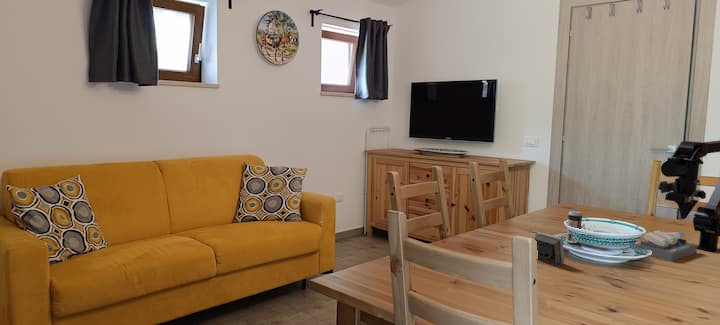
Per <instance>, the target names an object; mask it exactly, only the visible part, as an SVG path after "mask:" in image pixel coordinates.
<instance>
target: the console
mask: <svg viewBox="0 0 720 325" xmlns="http://www.w3.org/2000/svg"><path fill="white" fill-rule="evenodd" d="M697 246H698V244H693V243H690V242H687V239H684V238H680V239H678V241H677V243H676V244H674V245H672V244H669V246H667V247H664V246H660V245H656V244H654V243H652V242H650V241H648V240H645V241H643V240H640V242H638V243H635V246H634V248H635V247H636V248H641V249H646V250H651V251H652V255H651V256H650V257H652V258H655V259H660V260H664V261H668V262H675V261H676V260H680V259H682V258H683V259H684V258H686V257H689V256H691V255H695V254H696V253H697V250H698V248H697Z"/></svg>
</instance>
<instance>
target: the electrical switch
mask: <svg viewBox="0 0 720 325" xmlns="http://www.w3.org/2000/svg"><path fill="white" fill-rule="evenodd" d="M533 239H535V240H536V241H537V250H538V260H537V261H540V262H544V263H547V264H551V265H554V266H557V265H559V264H560V265H563V264H564V262H565V253H564V240H563V238H562V237H559V236H555V235H553V234H547V233H543V232H540V231H538V232H535V237H533V238H532V240H533Z"/></svg>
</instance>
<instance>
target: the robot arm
mask: <svg viewBox="0 0 720 325" xmlns="http://www.w3.org/2000/svg"><path fill="white" fill-rule="evenodd" d="M714 153H720V139H719V140H711V141H703V142H701V141H690V140H683V141H681V142H680V144H679V145H678V146H677V147H676V149H675V150H674V152H673V154H672V155H671V157H667V158H666V160H665V161H664V162H663V163H662V165H661V166H660V171H661V173H662V175H663V176H664V177H666V178H675V177H677V178H675V179H674V182H667V180H665V181H660V182H659V184H658V188H657V189H658V190H659V191H660V193H661V194H665V193H666V194H665V197H664V199H665V200H664V201H671V202H674V203H676V204H677V207H678V210H679V216H680V219H681V220H685V219H687V217H688V216H689V214H690V213H691V212H692V211H693V209H694V207H695V206H696V205H697V203H699V200H698V199H695V198H700V199H701V200H704V199H706V196H707V193H706V192H705V191H704V190H701V189H698V188H697V187H698V184H700V181H701V180H700V179H699V172H700V170H699V169H700V165H704V161H703V160H702V159H701V158H704V157H706V156H707V155H708V154H714ZM694 197H695V198H694ZM692 223H693V224H692V225H693V229H694V231H695V232H699V238H698V244H697V250H699V249H700V250H703V251H707V252H712V253H716V252H719V251H720V247H718V245H719V237H720V178H719V179H718V181H717V183H716V186H715V187H714V190H713V192H712V193H711V195H710V198H709V199H708V201H707V204H705V205H704V206H698V207H697V209H696V211H695V213H694V214H693V219H692Z"/></svg>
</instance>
